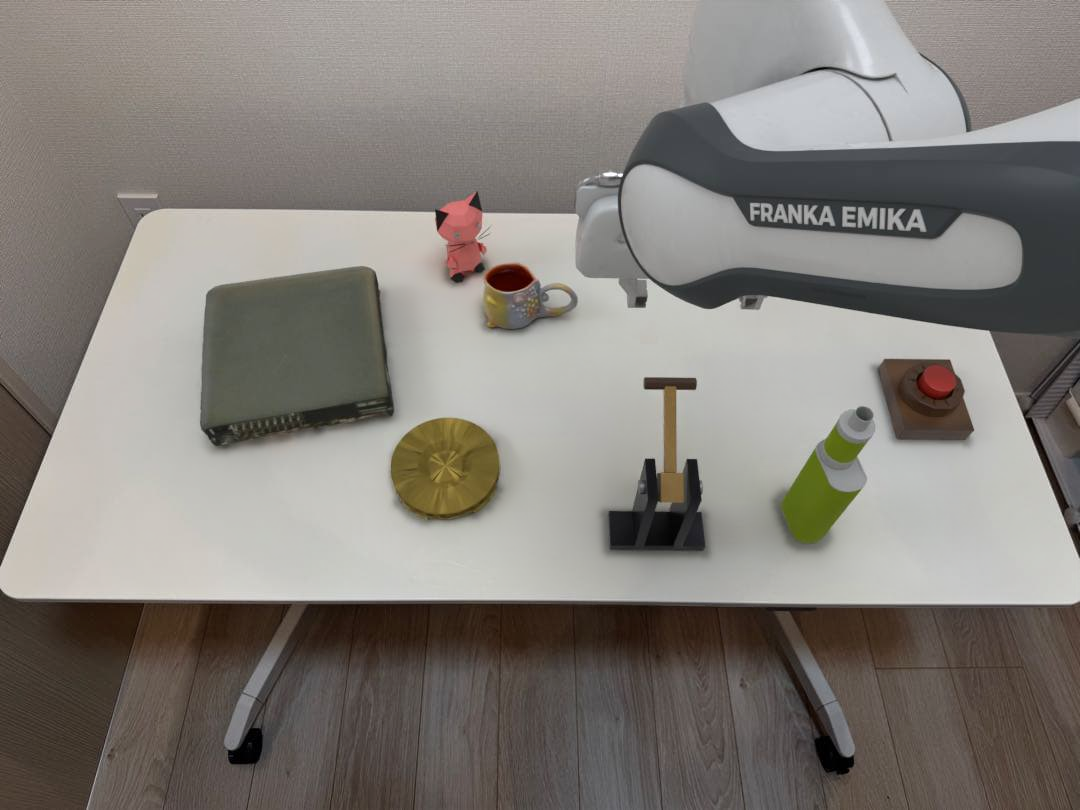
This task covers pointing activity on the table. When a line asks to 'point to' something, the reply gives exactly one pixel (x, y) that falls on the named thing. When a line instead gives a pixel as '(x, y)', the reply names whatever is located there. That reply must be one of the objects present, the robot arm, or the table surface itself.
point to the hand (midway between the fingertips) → (692, 302)
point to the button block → (923, 402)
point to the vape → (829, 478)
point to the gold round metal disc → (445, 468)
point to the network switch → (293, 355)
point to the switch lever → (670, 436)
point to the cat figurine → (462, 235)
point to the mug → (519, 296)
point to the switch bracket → (660, 516)
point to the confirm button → (936, 382)
